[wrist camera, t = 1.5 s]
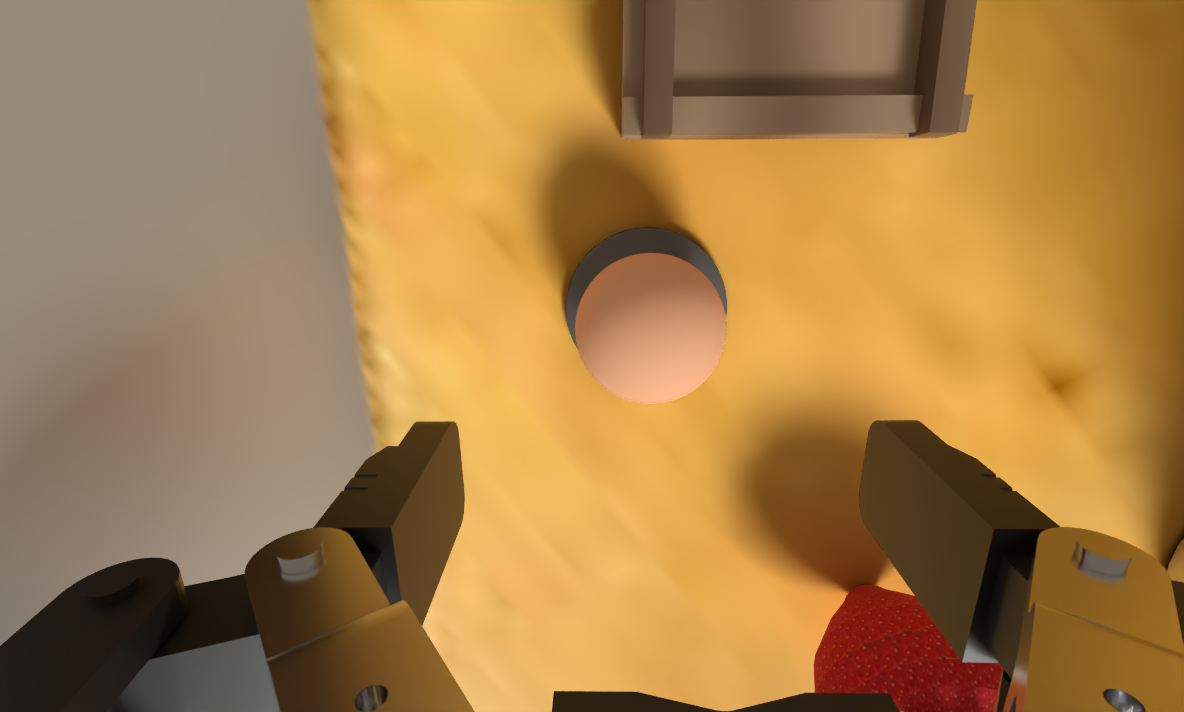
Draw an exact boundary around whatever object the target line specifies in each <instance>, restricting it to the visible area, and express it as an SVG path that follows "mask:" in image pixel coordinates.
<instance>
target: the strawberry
mask: <svg viewBox="0 0 1184 712" xmlns="http://www.w3.org/2000/svg"><path fill="white" fill-rule="evenodd" d="M1002 670H1003V668H1002V667H1001V665H1000V664H999V663H974V662H962V661H961V660H960V659H959V657H958V656H957V654H956V653H955V651H954V650H953V649H952V647H951V646H950V644H949V643H948V642H947V640H946V639H945V637H944V636H943V634H942V633H941V632H940V630H939V629H938V627H937V626H936V625H935V623H934V622H933V620H932V619H931V618H930V616H929V615H928V613H927V612H926V610H925V609H924V608H923V606H922V605H921V603H920V602H919V601H918V599H917V598H916V596H912V595H909V594H905V593H900V592H896V591H891V590H887V589H883V588H881V587H879V586H875V585H860V586H857V587H855V588H853V589H852V590H851V591H850V592H849V593H848V595H847V596H846V598H845V601H844V602H843V604H842V605H841V606H840V608H839V609H838V610H837V612H836V613H835V614H834V615H833V617H832V618H831V620H830V623H829V625H828V627H827V629H826V632H825V634H824V636H823V638H822V641H821V643H820V645H819V648H818V650H817V652H816V655H815V661H814V683H815V693H890V695H891V697H892V699H893V701H894V702H895V704H896V706H897V708H898V710H899V712H994V707H995V701H996V695H997V689H998V685H999V682H1000V678H1001V674H1002Z"/></svg>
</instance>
